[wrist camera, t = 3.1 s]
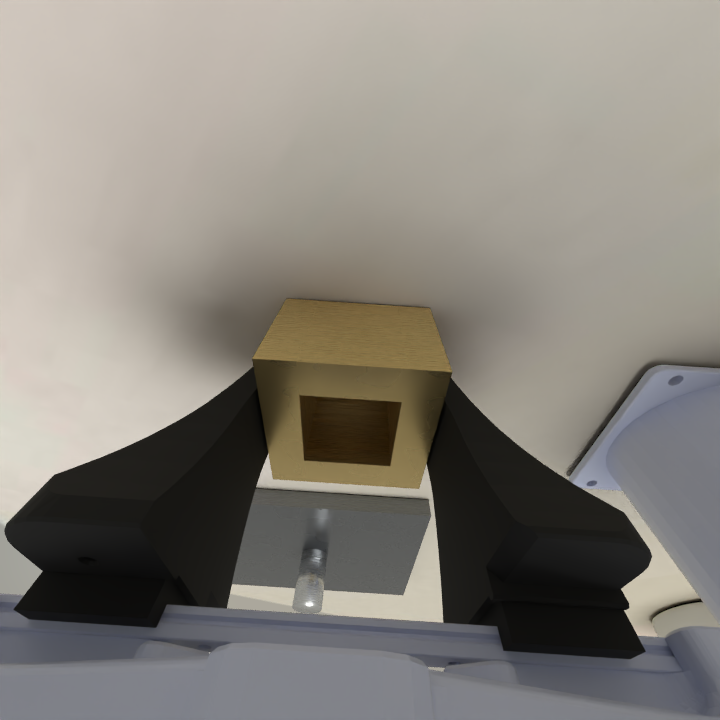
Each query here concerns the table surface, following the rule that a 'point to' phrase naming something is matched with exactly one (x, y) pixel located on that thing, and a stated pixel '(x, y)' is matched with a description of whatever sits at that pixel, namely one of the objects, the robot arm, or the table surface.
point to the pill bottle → (683, 618)
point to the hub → (351, 392)
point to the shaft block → (330, 543)
